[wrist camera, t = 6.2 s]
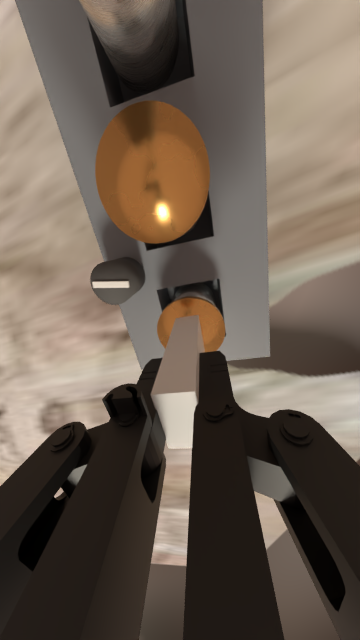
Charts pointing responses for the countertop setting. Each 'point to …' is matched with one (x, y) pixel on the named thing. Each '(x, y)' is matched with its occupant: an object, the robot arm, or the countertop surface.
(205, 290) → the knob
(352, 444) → the countertop surface
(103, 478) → the robot arm
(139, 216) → the knob mid
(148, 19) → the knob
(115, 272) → the dial
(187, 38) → the panel
